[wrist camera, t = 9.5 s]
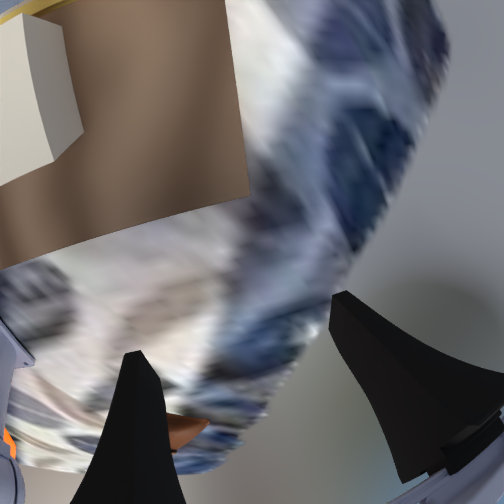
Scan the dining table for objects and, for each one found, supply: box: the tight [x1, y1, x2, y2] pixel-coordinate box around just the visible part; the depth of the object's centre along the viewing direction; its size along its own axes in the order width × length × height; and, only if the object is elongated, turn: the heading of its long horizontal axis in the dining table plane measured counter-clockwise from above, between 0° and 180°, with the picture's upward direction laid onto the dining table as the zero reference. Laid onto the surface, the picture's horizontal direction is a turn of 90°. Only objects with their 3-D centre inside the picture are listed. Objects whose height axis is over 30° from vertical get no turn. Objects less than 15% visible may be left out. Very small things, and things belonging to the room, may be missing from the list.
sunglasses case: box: [166, 413, 210, 455], centre depth 33 cm, size 18×7×7 cm
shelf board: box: [0, 0, 251, 270], centre depth 11 cm, size 18×14×2 cm
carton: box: [0, 13, 84, 186], centre depth 8 cm, size 4×6×5 cm, turn 7°
